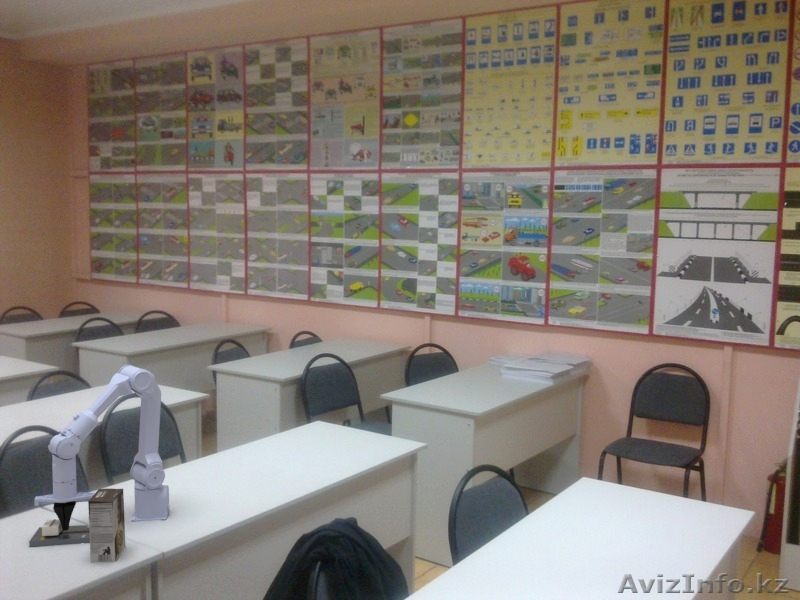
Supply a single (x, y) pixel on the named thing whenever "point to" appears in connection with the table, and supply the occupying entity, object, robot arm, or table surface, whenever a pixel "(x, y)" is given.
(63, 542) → the fader panel
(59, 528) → the fader knob
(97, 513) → the coffee box
